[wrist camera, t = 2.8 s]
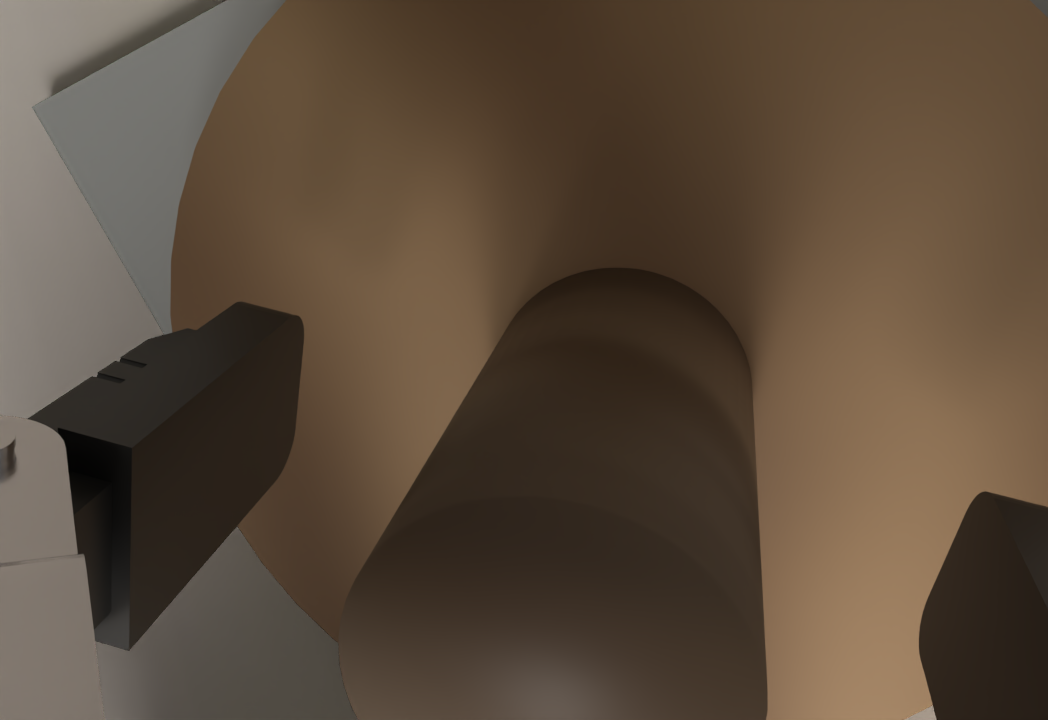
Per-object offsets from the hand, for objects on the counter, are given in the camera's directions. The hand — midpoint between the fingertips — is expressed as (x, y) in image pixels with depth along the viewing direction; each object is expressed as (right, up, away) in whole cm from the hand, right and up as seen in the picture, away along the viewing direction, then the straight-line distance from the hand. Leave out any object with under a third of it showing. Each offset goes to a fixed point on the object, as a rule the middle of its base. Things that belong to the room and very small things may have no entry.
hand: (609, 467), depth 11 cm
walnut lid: (+1, +1, +3) cm, 3 cm away
